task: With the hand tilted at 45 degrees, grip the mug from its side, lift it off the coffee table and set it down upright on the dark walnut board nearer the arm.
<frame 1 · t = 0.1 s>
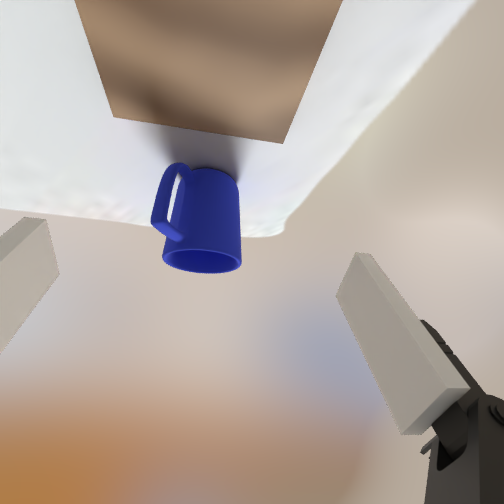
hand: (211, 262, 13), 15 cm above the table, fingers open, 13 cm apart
mug: (201, 171, 32), on the table
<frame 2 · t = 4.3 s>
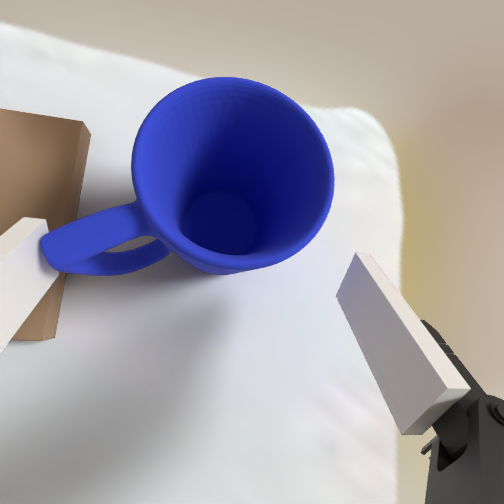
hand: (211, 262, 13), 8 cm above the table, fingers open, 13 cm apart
mug: (195, 240, 21), on the table
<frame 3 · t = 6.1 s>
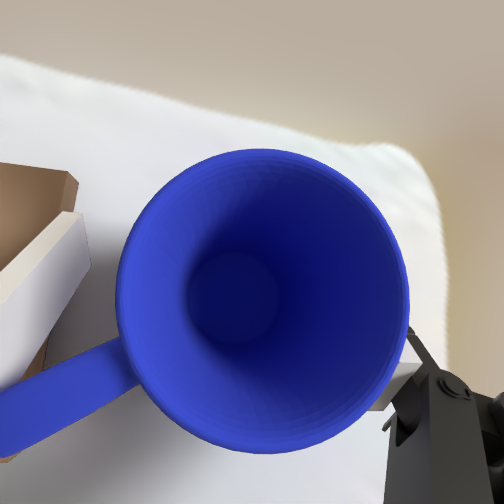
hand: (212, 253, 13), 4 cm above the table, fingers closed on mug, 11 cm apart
mug: (204, 311, 17), on the table, touching gripper
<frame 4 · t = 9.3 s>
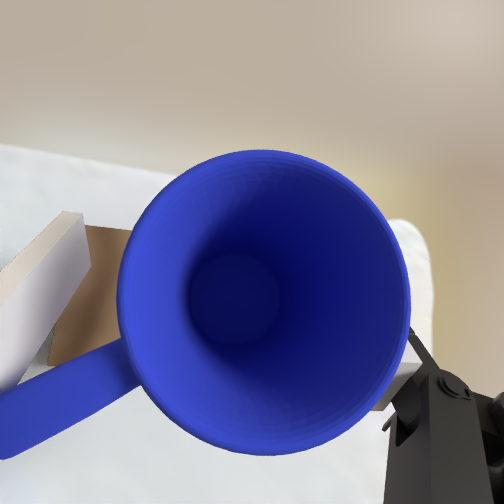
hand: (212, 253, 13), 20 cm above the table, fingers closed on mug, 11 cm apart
mug: (204, 312, 17), point 15 cm above the table, touching gripper
walnut board: (158, 299, 31), on the table
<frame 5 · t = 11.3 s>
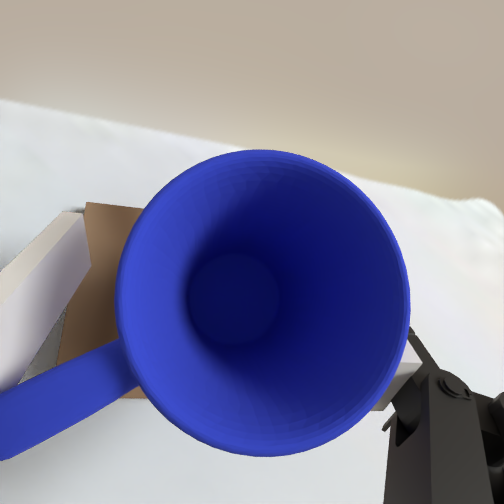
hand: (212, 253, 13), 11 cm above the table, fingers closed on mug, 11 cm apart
mug: (204, 312, 17), point 7 cm above the table, touching gripper
walnut board: (195, 302, 24), on the table
when the fingers open (7 cm above the table, at t = 12.7 s): mug drops 1 cm, resting on walnut board.
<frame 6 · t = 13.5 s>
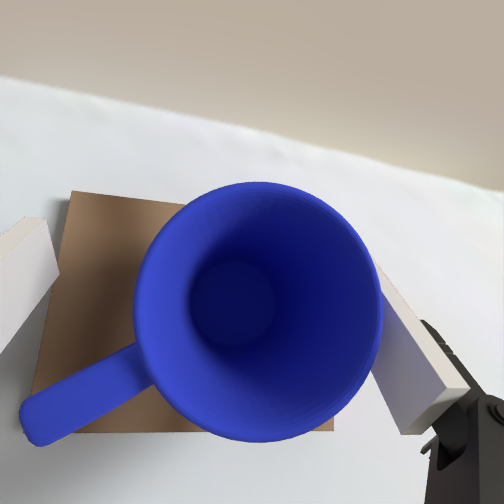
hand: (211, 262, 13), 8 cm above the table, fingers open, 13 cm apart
mug: (206, 316, 18), point 1 cm above the table, touching walnut board
walnut board: (203, 311, 20), on the table
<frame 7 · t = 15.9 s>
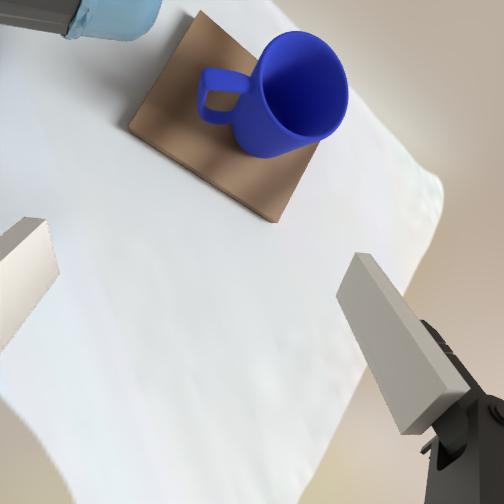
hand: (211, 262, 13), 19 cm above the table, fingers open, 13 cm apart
mug: (241, 128, 31), point 1 cm above the table, touching walnut board
walnut board: (237, 128, 32), on the table
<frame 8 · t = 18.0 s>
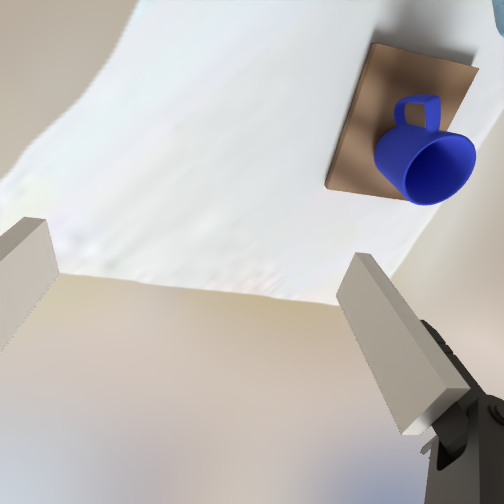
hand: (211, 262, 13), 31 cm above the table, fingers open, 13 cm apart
mug: (393, 135, 39), point 1 cm above the table, touching walnut board
walnut board: (390, 132, 40), on the table
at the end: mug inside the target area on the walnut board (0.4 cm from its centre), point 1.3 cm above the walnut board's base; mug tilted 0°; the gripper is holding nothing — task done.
